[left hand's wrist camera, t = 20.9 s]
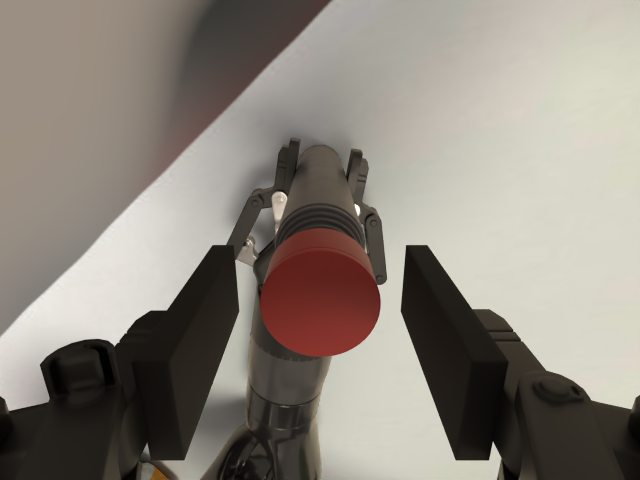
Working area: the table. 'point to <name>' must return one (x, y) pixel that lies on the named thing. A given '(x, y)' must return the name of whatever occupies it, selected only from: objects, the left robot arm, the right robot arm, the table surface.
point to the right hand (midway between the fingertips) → (325, 146)
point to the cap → (320, 293)
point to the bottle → (319, 198)
